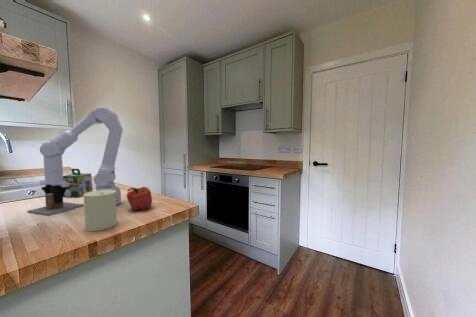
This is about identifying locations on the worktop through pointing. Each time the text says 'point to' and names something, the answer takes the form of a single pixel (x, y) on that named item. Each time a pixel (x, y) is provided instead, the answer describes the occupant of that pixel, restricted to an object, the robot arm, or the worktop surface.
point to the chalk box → (78, 184)
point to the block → (52, 202)
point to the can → (100, 210)
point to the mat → (48, 212)
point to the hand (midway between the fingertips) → (55, 202)
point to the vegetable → (139, 198)
